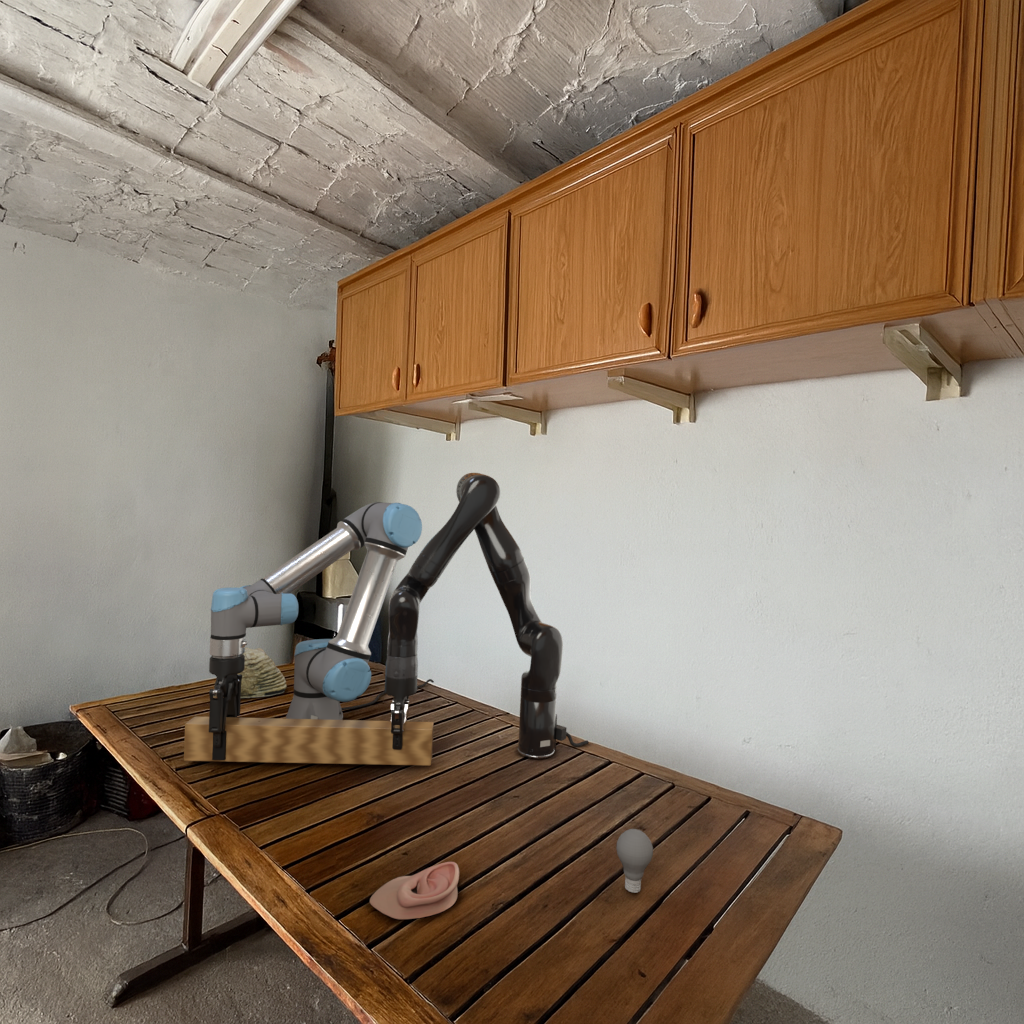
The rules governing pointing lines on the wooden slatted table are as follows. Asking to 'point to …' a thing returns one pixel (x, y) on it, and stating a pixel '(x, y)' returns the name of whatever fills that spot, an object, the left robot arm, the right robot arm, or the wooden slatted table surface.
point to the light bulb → (634, 857)
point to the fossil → (260, 675)
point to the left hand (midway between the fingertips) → (223, 754)
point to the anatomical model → (419, 893)
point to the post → (311, 741)
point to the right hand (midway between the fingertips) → (398, 743)
